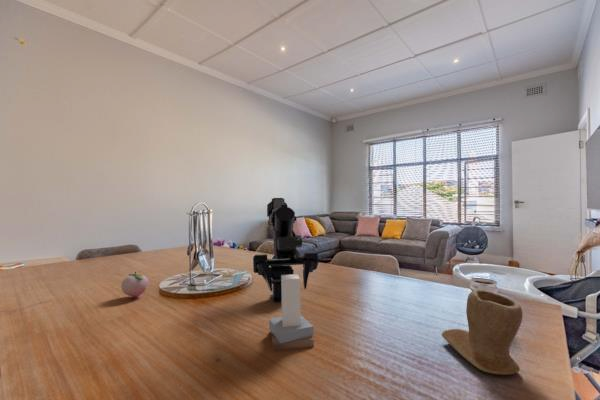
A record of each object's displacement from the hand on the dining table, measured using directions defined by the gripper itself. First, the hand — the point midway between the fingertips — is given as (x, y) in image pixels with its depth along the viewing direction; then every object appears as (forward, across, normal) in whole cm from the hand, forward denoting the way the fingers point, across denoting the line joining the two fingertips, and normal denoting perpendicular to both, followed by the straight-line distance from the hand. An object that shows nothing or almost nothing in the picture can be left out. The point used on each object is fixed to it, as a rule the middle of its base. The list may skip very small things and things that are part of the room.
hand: (288, 289), depth 74 cm
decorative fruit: (-20, -55, +38) cm, 70 cm away
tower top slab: (+9, 0, +7) cm, 11 cm away
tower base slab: (+10, 0, +8) cm, 13 cm away
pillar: (+7, 0, +5) cm, 8 cm away
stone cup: (+22, +42, -4) cm, 48 cm away
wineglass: (+11, +57, +7) cm, 59 cm away
